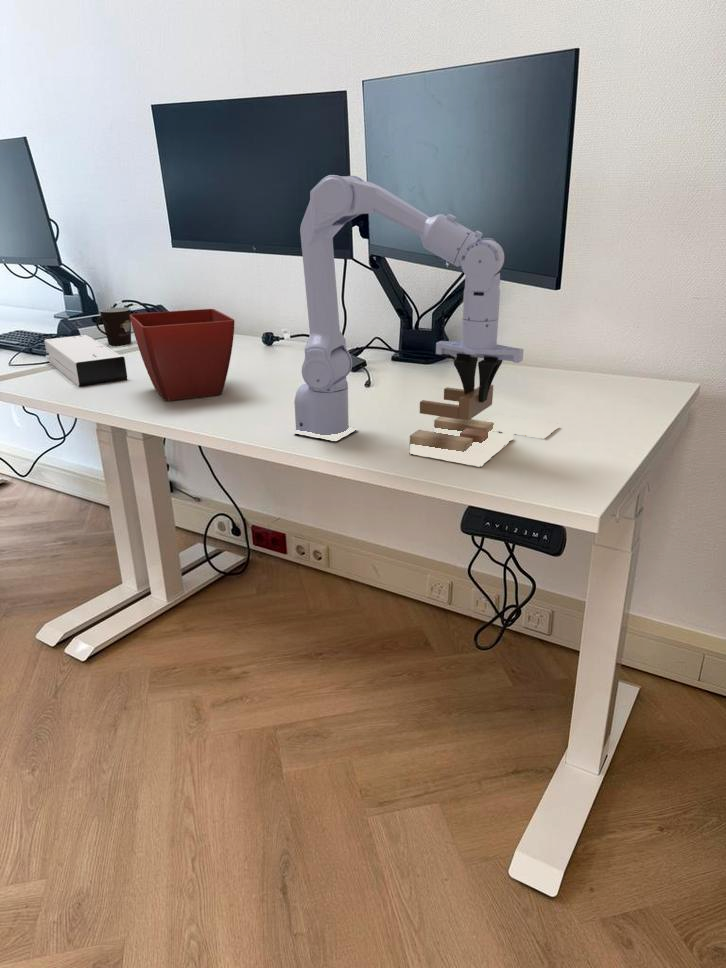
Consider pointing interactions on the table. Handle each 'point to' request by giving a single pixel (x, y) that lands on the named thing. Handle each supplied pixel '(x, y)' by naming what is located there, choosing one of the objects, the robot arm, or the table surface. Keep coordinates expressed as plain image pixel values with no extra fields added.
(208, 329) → the plant pot
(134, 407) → the table surface
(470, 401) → the wooden c-shaped piece
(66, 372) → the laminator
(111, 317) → the coffee mug
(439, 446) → the wooden u-shaped block
